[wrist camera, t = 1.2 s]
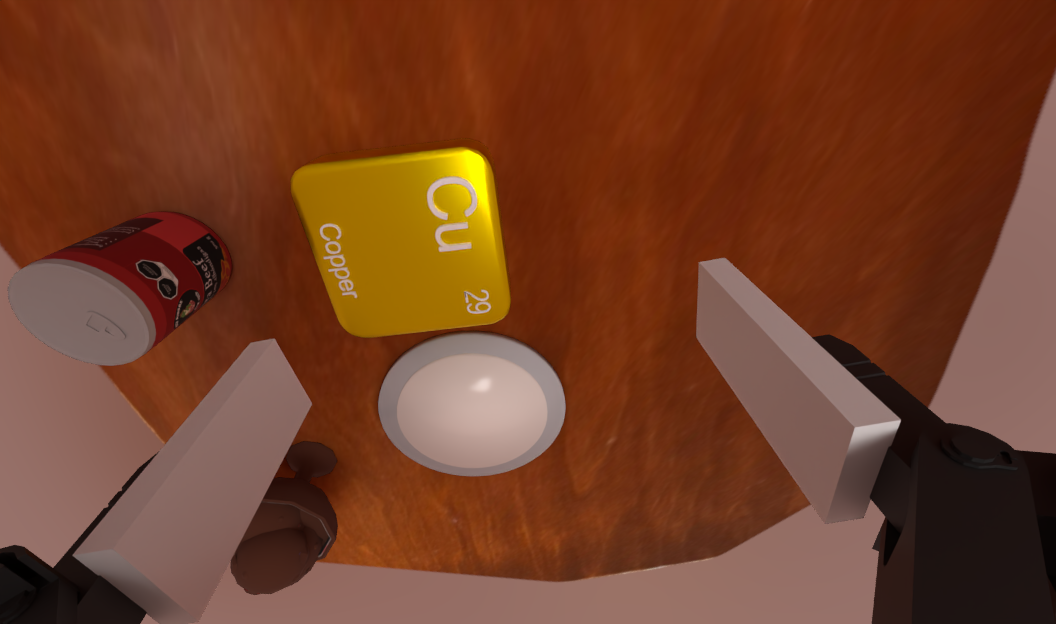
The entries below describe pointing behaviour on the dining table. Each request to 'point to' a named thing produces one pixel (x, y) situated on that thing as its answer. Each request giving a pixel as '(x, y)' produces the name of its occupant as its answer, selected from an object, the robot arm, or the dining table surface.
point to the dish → (472, 403)
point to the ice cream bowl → (288, 525)
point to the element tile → (407, 236)
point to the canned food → (121, 287)
